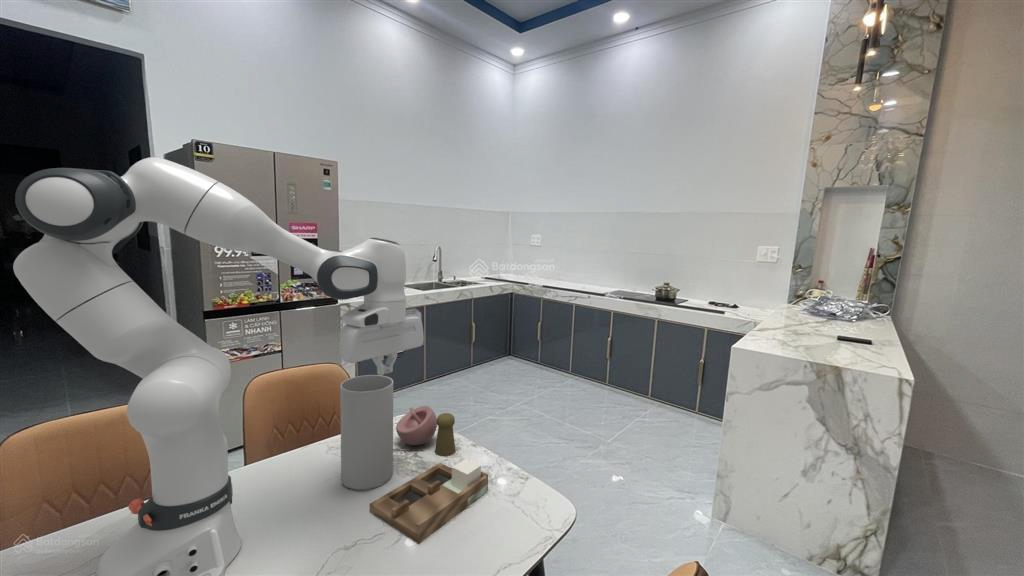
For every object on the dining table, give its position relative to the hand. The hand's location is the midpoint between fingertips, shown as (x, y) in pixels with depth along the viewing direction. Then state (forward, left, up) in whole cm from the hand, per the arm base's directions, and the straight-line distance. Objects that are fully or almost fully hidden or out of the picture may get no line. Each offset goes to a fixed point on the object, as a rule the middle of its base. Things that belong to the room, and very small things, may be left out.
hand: (385, 373), depth 92 cm
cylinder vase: (+4, +12, -31) cm, 34 cm away
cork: (+26, +6, -31) cm, 41 cm away
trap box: (+7, -8, -31) cm, 33 cm away
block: (+15, -12, -29) cm, 35 cm away
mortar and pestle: (+24, +16, -31) cm, 43 cm away
